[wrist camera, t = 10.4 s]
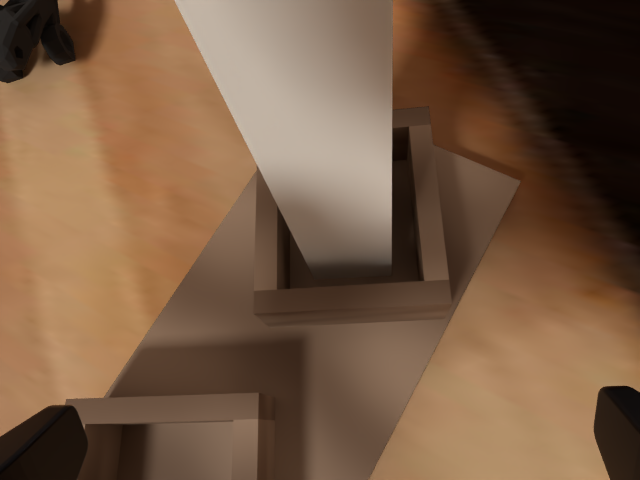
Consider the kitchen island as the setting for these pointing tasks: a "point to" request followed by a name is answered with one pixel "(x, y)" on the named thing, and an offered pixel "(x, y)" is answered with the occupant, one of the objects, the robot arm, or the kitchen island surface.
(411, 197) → the double compartment tray
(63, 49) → the decorative element
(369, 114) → the beige rectangular block
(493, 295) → the kitchen island surface
